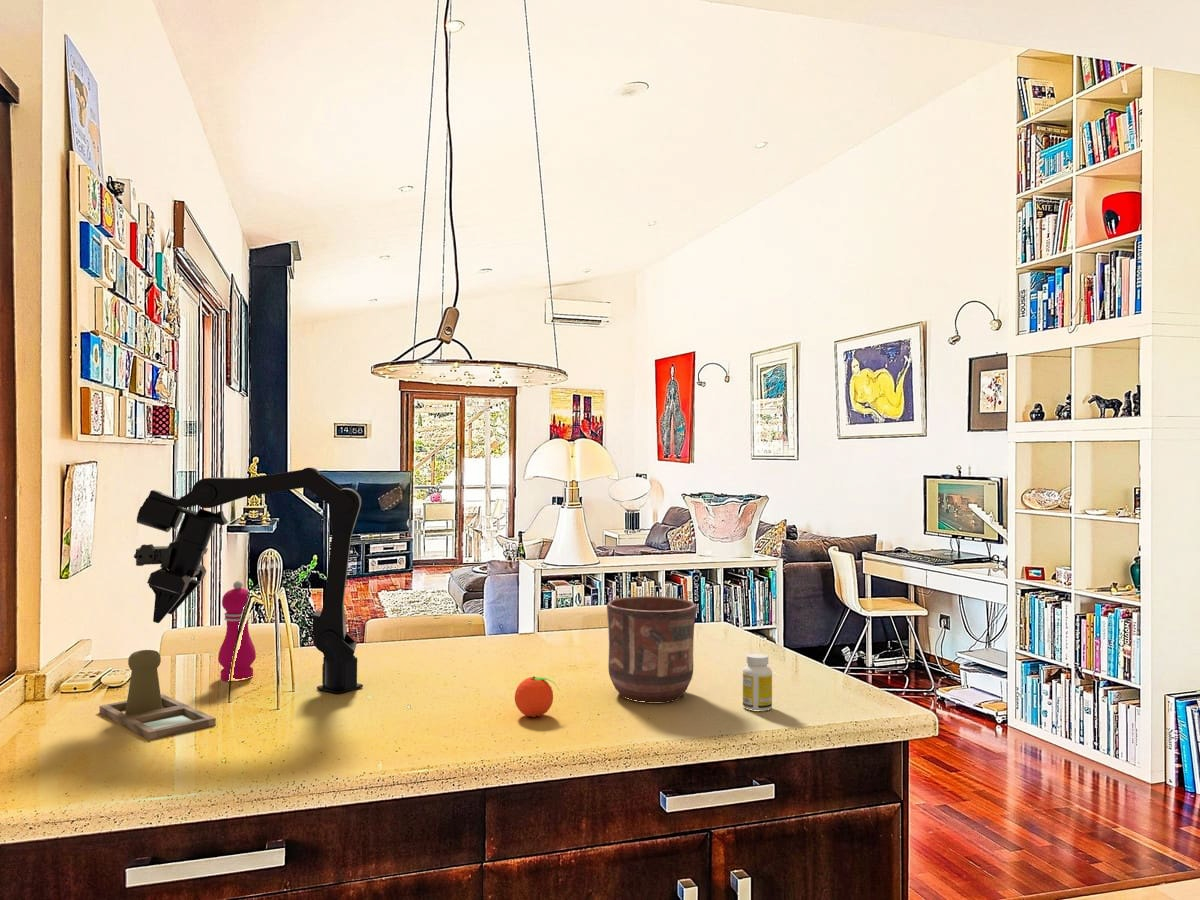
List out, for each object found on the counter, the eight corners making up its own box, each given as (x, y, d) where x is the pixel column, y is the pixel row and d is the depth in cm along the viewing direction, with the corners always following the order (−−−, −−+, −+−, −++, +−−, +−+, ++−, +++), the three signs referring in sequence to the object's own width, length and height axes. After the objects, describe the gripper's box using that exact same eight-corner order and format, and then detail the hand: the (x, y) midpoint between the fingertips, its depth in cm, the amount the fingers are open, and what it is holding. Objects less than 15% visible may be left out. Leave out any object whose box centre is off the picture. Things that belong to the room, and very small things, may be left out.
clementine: (556, 709, 165) (556, 671, 165) (561, 721, 158) (561, 680, 158) (512, 711, 163) (513, 672, 163) (515, 722, 157) (516, 682, 157)
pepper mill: (242, 683, 181) (243, 584, 181) (210, 681, 182) (211, 582, 182) (262, 674, 188) (263, 579, 188) (231, 672, 189) (232, 578, 190)
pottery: (708, 689, 180) (708, 599, 180) (678, 712, 164) (678, 613, 164) (627, 680, 187) (627, 593, 187) (591, 700, 171) (591, 606, 171)
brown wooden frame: (215, 725, 153) (215, 718, 153) (149, 739, 145) (149, 732, 145) (162, 700, 168) (162, 694, 168) (99, 712, 160) (99, 705, 160)
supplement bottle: (773, 705, 169) (774, 653, 169) (769, 713, 164) (770, 659, 164) (745, 702, 170) (745, 651, 170) (740, 710, 165) (740, 657, 165)
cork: (133, 707, 163) (134, 647, 163) (168, 707, 164) (168, 647, 164) (118, 717, 157) (119, 654, 157) (154, 717, 158) (155, 654, 158)
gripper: (162, 522, 179) (134, 597, 178) (134, 531, 161) (102, 614, 160) (218, 540, 182) (190, 614, 181) (197, 550, 163) (166, 632, 162)
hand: (162, 617), depth 171 cm, fingers open, 9 cm apart
